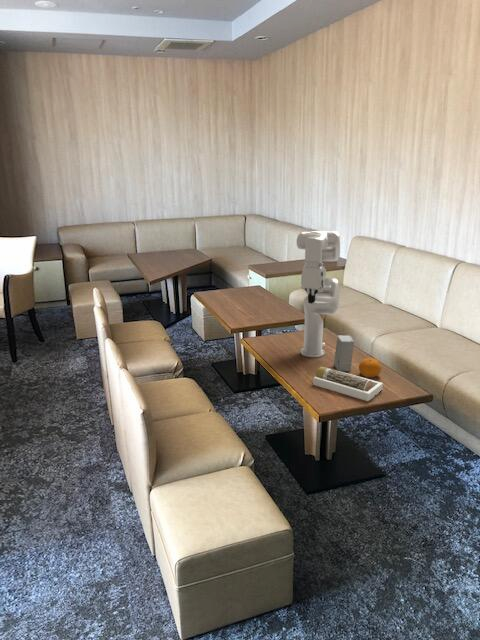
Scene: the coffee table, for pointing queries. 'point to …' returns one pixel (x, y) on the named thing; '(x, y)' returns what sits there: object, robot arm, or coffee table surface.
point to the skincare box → (343, 353)
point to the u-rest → (349, 388)
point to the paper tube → (344, 378)
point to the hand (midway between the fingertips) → (311, 302)
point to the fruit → (370, 367)
